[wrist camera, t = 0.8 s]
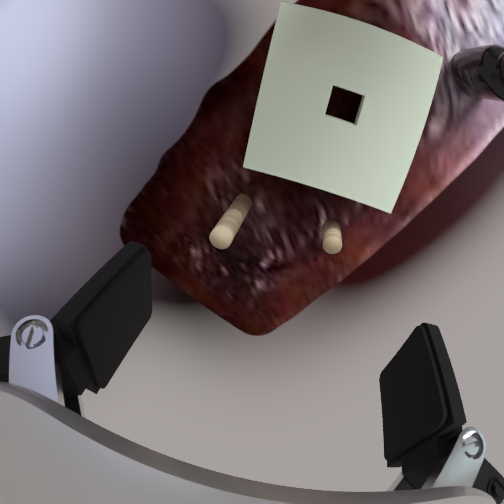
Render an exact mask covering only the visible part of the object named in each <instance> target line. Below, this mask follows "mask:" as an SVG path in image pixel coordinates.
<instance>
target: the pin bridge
mask: <svg viewBox="0 0 504 504" xmlns="http://www.w3.org/2000/svg"><path fill="white" fill-rule="evenodd" d="M442 61H443V57H442V56H440V55H438V54H436V53H434V52H432V51H430V50H428V49H426V48H424V47H422V46H420V45H418V44H416V43H414V42H412V41H410V40H407V39H405V38H403V37H401V36H398V35H396V34H393V33H391V32H389V31H386V30H383V29H381V28H378V27H376V26H373V25H370V24H367V23H364V22H361V21H358V20H355V19H352V18H349V17H346V16H342V15H339V14H335V13H332V12H328V11H324V10H320V9H316V8H311V7H307V6H302V5H297V4H292V3H286V2H281V4H280V8H279V12H278V16H277V20H276V24H275V28H274V32H273V36H272V40H271V44H270V48H269V52H268V57H267V61H266V65H265V69H264V74H263V78H262V82H261V87H260V91H259V95H258V100H257V104H256V109H255V113H254V118H253V122H252V127H251V131H250V136H249V141H248V145H247V150H246V155H245V160H244V164H243V167H244V168H248V169H252V170H256V171H259V172H263V173H267V174H270V175H274V176H278V177H281V178H285V179H288V180H292V181H295V182H298V183H302V184H305V185H308V186H312V187H315V188H318V189H321V190H324V191H327V192H331V193H334V194H337V195H340V196H343V197H346V198H349V199H352V200H354V201H357V202H360V203H363V204H366V205H369V206H372V207H374V208H377V209H380V210H383V211H385V212H388V213H391V212H392V209H393V207H394V205H395V203H396V200H397V198H398V195H399V193H400V191H401V188H402V186H403V183H404V181H405V178H406V176H407V173H408V170H409V168H410V165H411V163H412V160H413V157H414V154H415V152H416V149H417V146H418V143H419V140H420V137H421V135H422V132H423V129H424V125H425V122H426V119H427V116H428V113H429V110H430V106H431V103H432V99H433V96H434V92H435V89H436V85H437V81H438V77H439V74H440V70H441V65H442ZM333 86H336V87H339V88H342V89H345V90H348V91H351V92H354V93H357V94H360V95H363V96H362V99H361V103H360V106H359V110H358V113H357V116H356V120H355V123H351V122H348V121H345V120H342V119H339V118H336V117H333V116H330V115H327V114H325V113H326V110H327V106H328V102H329V99H330V95H331V91H332V88H333Z"/></svg>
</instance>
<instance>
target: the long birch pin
mask: <svg viewBox="0 0 504 504" xmlns="http://www.w3.org/2000/svg"><path fill="white" fill-rule="evenodd" d="M251 206H252V198H251V197H250V196H249V195H248V194H245V193H242V194H239V195H238V196H237V197H236V198H235V200H234V201H233V202H232V204H231V205H230V206H229V208H228V209H227V211H226V212H225V213H224V215H223V216H222V218H221V219H220V220H219V222H218V223H217V225H216V226H215V228H214V229H213V230H212V232H211V233H210V236H209V238H210V242H211V243H212V245H213V246H215V247H216V248H219V249H226V248H228V247H229V246H230V244H231V242H232V240H233V239H234V237H235V235H236V233H237V231H238V229H239V228H240V226H241V224H242V222H243V220H244V219H245V217H246V215H247V213H248V211H249V210H250V208H251Z"/></svg>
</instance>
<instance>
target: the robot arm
mask: <svg viewBox="0 0 504 504" xmlns="http://www.w3.org/2000/svg"><path fill="white" fill-rule="evenodd" d="M151 314H152V288H151V253H150V252H149V251H147V247H146V246H145V245H142V244H139V243H135V242H132V241H130V242H129V243H127V244H126V245H125V246H124V247H123V248H122V249H121V250H120V251H119V252H118V253H117V254H115V255H114V256H113V257H112V258H111V259H110V260H109V261H108V262H107V263H106V264H105V265H104V266H103V267H102V268H101V269H100V270H99V271H98V272H97V273H96V274H95V275H94V276H93V277H92V278H91V279H90V280H89V281H88V282H87V283H86V284H85V285H84V286H83V287H82V288H81V289H80V290H79V291H78V292H77V293H76V294H75V295H74V296H73V297H72V298H71V299H70V300H69V301H68V302H67V303H66V304H65V305H64V306H63V307H62V308H61V310H60V311H59V312H58V313H57V314H56V315H55V316H54V318H53V319H51V321H49V320H48V319H46V318H45V317H42V316H39V315H32V316H28V317H25V318H23V319H22V320H20V321H19V322H18V323H17V324H16V325H15V327H14V329H13V331H12V334H11V335H9V336H4V337H0V504H504V478H503V476H502V475H501V474H500V473H499V472H498V471H497V470H496V469H495V468H494V467H493V466H492V465H491V464H490V463H489V462H488V461H487V460H486V459H485V458H484V457H485V453H486V442H485V438H484V436H483V435H482V433H481V432H480V431H479V430H478V429H477V428H475V427H466V428H465V429H463V430H462V425H463V424H465V423H466V417H465V413H464V409H463V405H462V400H461V397H460V393H459V389H458V385H457V382H456V378H455V375H454V372H453V368H452V365H451V362H450V359H449V356H448V353H447V350H446V347H445V344H444V341H443V338H442V335H441V333H440V330H439V328H438V326H436V325H432V324H428V323H422V324H421V325H420V326H417V327H416V328H415V329H414V331H413V332H412V333H411V335H410V336H409V338H408V339H407V340H406V342H405V343H404V344H403V346H402V347H401V348H400V350H399V351H398V352H397V354H396V355H395V356H394V357H393V359H392V360H391V361H390V362H389V363H388V365H387V366H386V367H385V369H384V370H383V371H382V372H381V374H380V379H379V382H380V392H381V403H382V415H383V416H382V417H383V435H384V457H385V459H386V460H387V467H401V466H402V472H401V473H400V475H399V476H398V477H397V479H396V480H395V481H394V482H393V484H392V485H391V486H390V487H389V489H388V490H387V491H385V492H341V491H323V490H312V489H303V488H294V487H286V486H280V485H274V484H268V483H263V482H257V481H252V480H247V479H243V478H239V477H234V476H230V475H227V474H223V473H219V472H215V471H212V470H208V469H204V468H201V467H198V466H195V465H192V464H189V463H186V462H182V461H180V460H177V459H174V458H171V457H169V456H166V455H163V454H161V453H158V452H156V451H153V450H151V449H148V448H146V447H143V446H141V445H139V444H137V443H134V442H132V441H130V440H128V439H126V438H123V437H121V436H119V435H117V434H115V433H113V432H111V431H109V430H106V429H105V428H103V427H101V426H99V425H97V424H95V423H93V422H91V421H89V420H87V419H86V418H85V414H84V409H83V404H82V398H81V395H82V393H83V392H84V390H85V389H88V390H90V391H92V392H94V393H95V394H97V392H98V391H99V389H100V388H102V389H103V388H105V387H106V386H107V384H108V382H109V381H110V379H111V378H112V376H113V374H114V373H115V371H116V370H117V368H118V366H119V365H120V363H121V362H122V360H123V359H124V357H125V356H126V354H127V352H128V350H129V349H130V348H131V346H132V345H133V343H134V342H135V340H136V338H137V337H138V336H139V334H140V332H141V331H142V329H143V328H144V326H145V325H146V323H147V322H148V320H149V319H150V317H151Z"/></svg>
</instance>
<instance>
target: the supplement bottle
mask: <svg viewBox="0 0 504 504" xmlns="http://www.w3.org/2000/svg"><path fill="white" fill-rule="evenodd" d="M453 73H454V76H455V79H456V81H457V83H458V84H459V86H460V87H461V88H462V89H463V90H464V91H465V92H466V93H467V94H469V95H471V96H473V97H478V98H484V99H491V100H497V101H502V102H504V47H502V46H499V45H487V46H481V47H475V48H469V49H465V50H461V51H460V52H458V53H457V54H456V55H455V57H454V60H453Z"/></svg>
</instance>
